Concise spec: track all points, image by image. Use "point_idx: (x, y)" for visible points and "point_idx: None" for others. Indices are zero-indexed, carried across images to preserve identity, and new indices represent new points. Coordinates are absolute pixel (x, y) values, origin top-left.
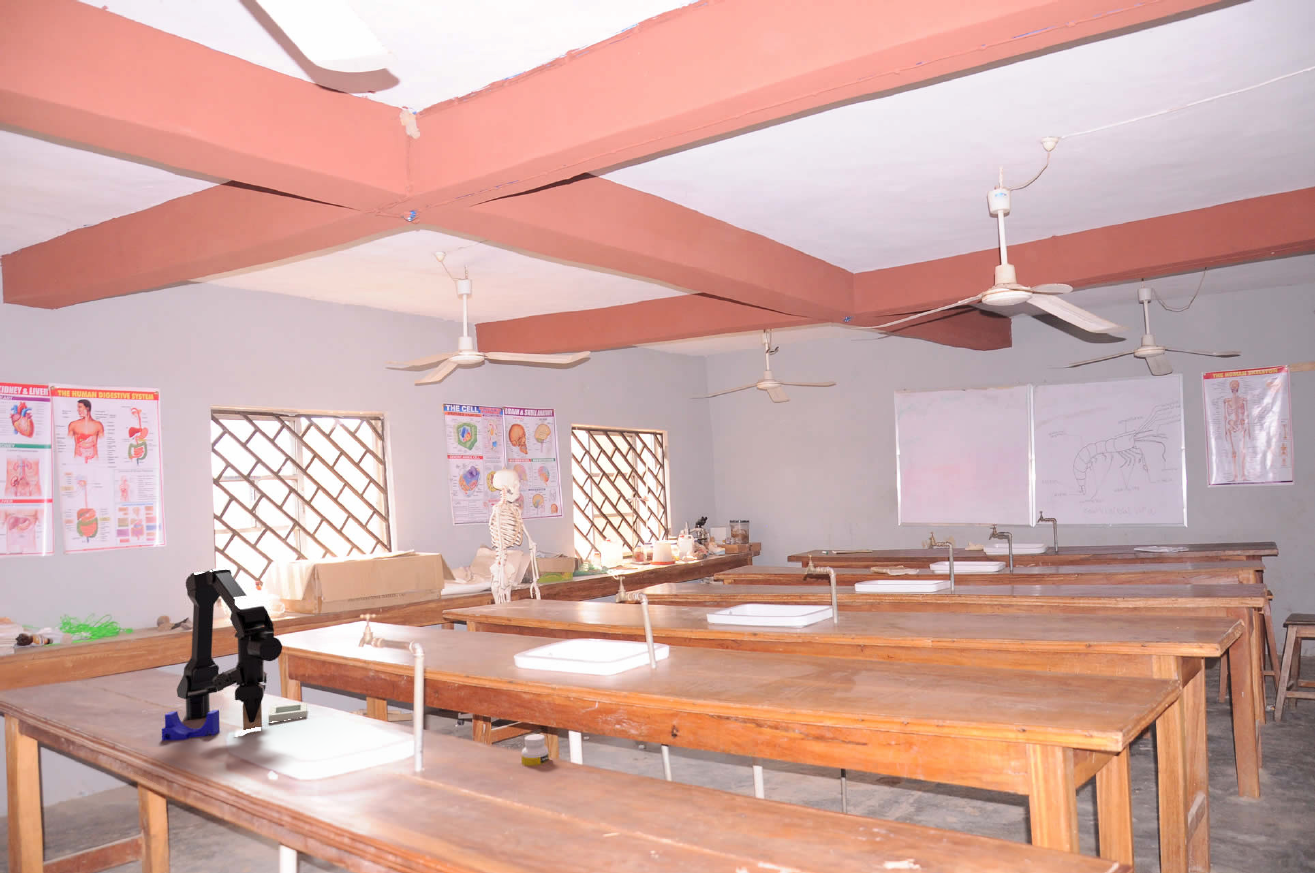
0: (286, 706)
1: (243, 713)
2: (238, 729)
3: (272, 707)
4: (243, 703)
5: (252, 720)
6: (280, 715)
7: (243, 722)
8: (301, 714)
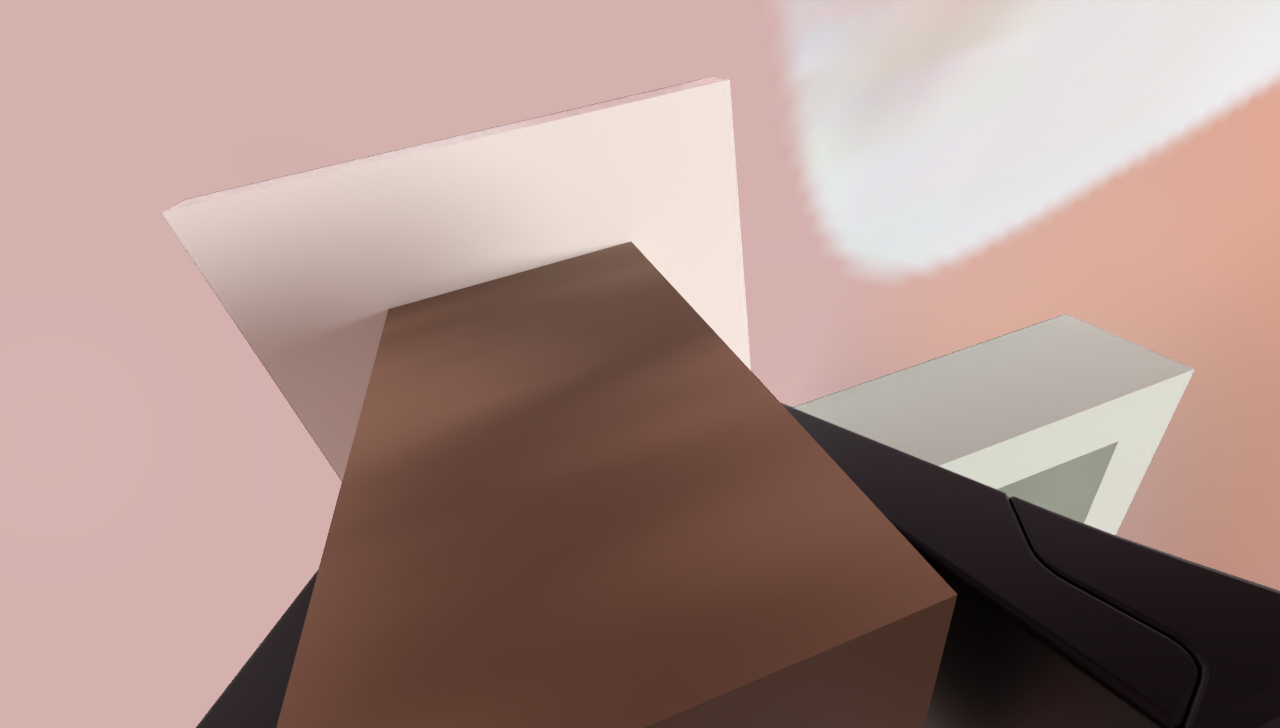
0: (1083, 511)
1: (323, 578)
2: (685, 131)
3: (1148, 402)
4: (647, 720)
5: None
6: None
7: (368, 413)
8: None
